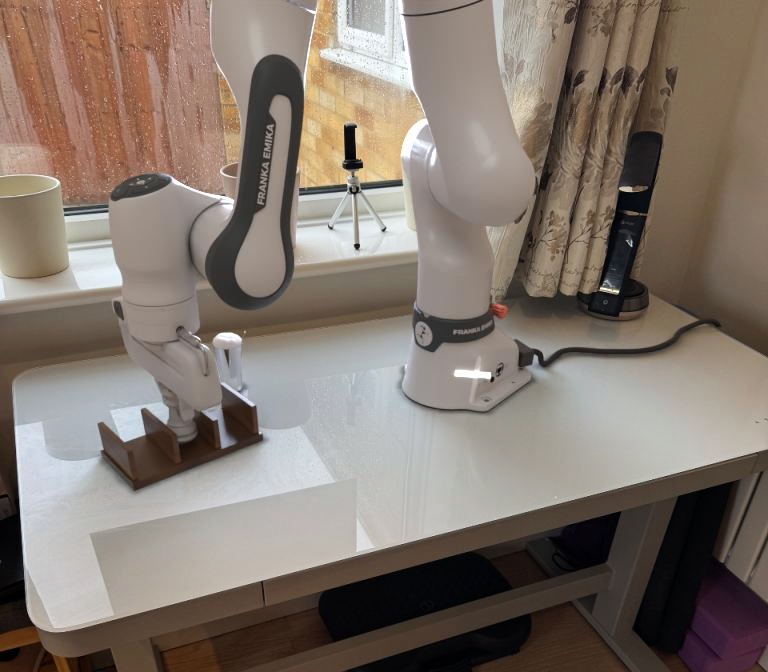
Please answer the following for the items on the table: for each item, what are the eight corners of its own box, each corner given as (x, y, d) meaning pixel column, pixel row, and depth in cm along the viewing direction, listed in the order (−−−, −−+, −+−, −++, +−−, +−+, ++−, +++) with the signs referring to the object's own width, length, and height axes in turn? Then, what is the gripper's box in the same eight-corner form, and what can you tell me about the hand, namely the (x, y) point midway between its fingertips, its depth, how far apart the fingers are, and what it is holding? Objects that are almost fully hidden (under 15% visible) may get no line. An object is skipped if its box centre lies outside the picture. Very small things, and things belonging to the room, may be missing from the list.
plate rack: (227, 412, 114) (223, 379, 111) (263, 440, 108) (260, 406, 105) (101, 457, 104) (93, 422, 100) (134, 490, 98) (126, 454, 94)
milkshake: (245, 397, 118) (239, 338, 112) (213, 393, 119) (206, 334, 113) (255, 383, 122) (250, 326, 116) (224, 380, 123) (217, 322, 117)
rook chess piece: (194, 444, 103) (186, 393, 98) (162, 443, 103) (152, 392, 98) (201, 427, 106) (194, 377, 102) (170, 427, 106) (161, 376, 102)
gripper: (228, 336, 89) (239, 435, 98) (149, 285, 102) (165, 377, 110) (180, 350, 86) (196, 451, 95) (104, 296, 98) (124, 390, 107)
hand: (178, 411), depth 102 cm, fingers closed on rook chess piece, 3 cm apart
